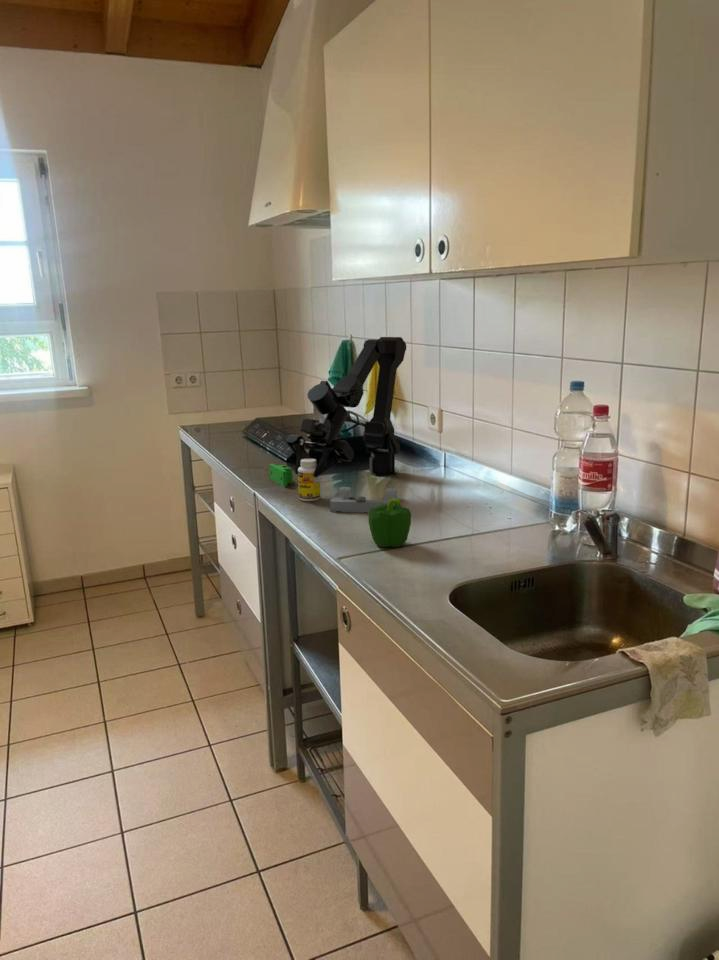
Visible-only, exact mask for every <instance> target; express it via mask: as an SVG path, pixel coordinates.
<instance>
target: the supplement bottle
mask: <svg viewBox="0 0 719 960" xmlns="http://www.w3.org/2000/svg"><path fill="white" fill-rule="evenodd" d="M317 465H318V464H317V459H316V458H311V459H302V460H301V467H299V468H298V475H297V481H298V482H297V483H298V485H297V486H298V489H297V490H298V499H299V500H300V501H302V502H316V501H319V500H320V499H321V474H320V475H319V476H318V477H314V472H315V469H316V467H317Z"/></svg>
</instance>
